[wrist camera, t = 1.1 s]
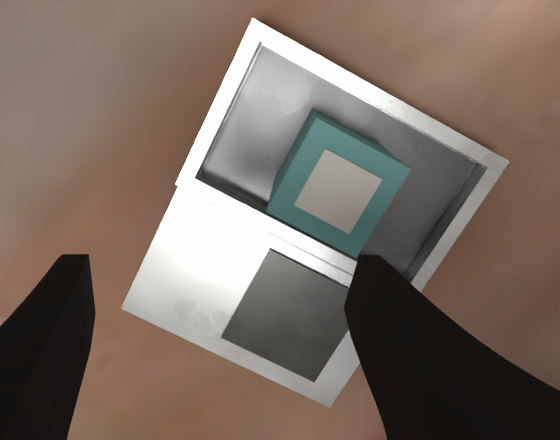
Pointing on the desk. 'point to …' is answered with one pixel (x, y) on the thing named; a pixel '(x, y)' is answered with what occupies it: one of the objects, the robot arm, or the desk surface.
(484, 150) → the case
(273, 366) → the lid
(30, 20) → the desk surface
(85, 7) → the desk surface
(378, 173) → the block
